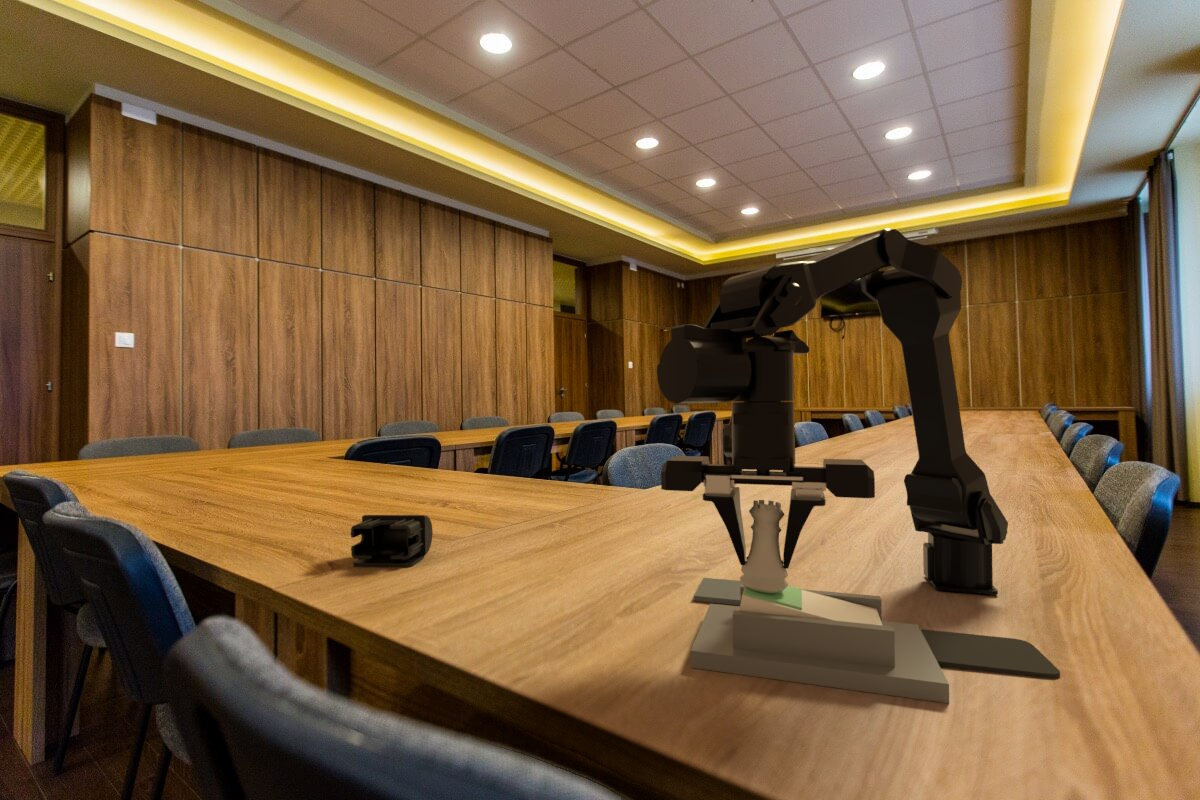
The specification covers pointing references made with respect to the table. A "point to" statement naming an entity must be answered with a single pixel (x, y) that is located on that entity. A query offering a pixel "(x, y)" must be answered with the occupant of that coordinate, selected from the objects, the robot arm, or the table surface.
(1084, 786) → the table surface
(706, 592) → the rubber pad
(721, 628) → the grey stand
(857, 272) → the robot arm
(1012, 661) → the phone
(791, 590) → the rocker
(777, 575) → the rook chess piece
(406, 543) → the end cap
